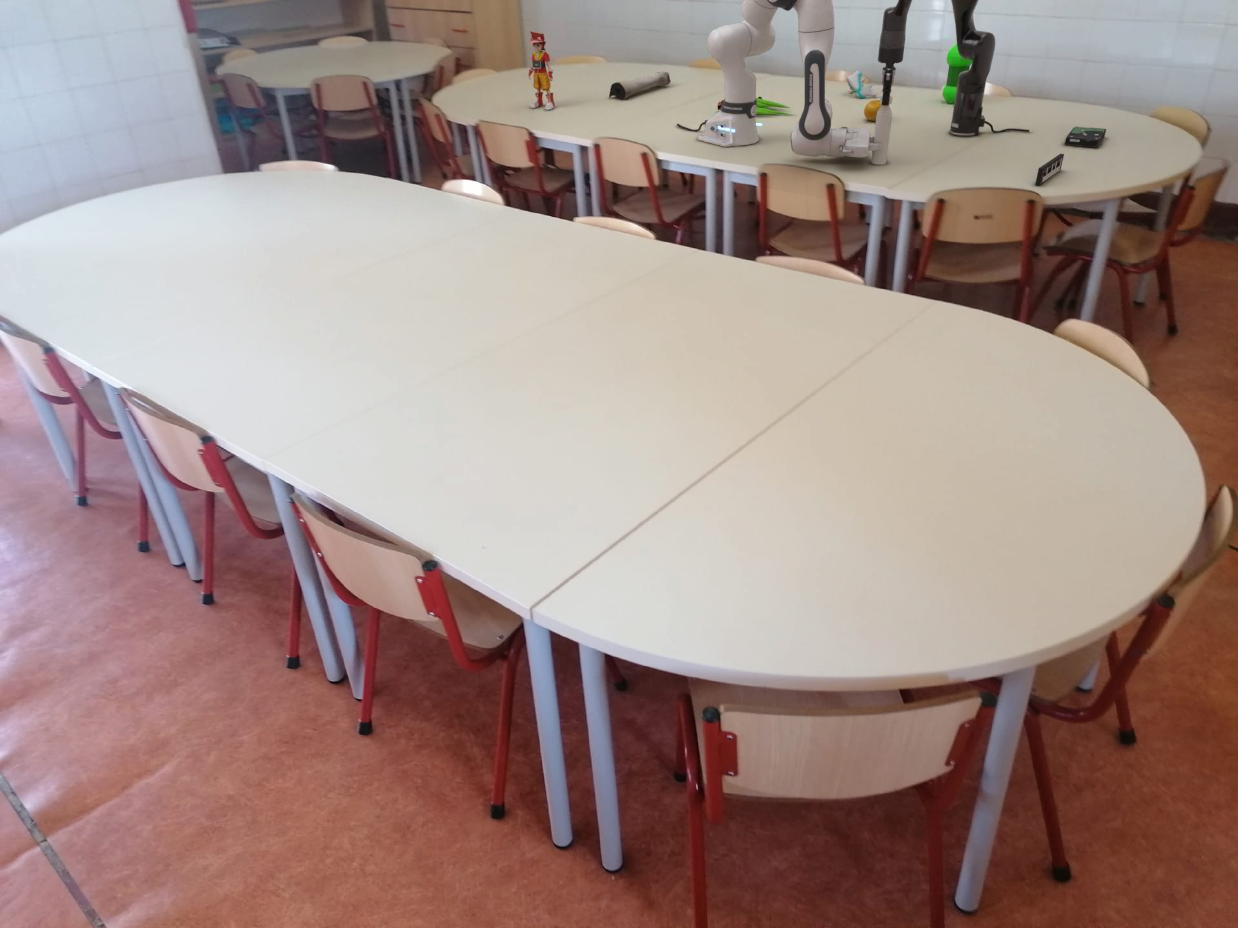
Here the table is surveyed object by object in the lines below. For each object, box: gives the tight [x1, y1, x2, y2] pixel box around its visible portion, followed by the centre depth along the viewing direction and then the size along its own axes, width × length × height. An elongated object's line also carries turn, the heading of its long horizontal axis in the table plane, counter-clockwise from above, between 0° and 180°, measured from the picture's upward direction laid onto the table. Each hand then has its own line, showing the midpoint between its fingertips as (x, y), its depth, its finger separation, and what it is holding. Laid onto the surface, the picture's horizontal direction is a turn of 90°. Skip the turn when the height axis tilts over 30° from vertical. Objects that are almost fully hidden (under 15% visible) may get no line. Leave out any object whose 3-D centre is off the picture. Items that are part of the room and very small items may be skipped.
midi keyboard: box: [1035, 153, 1065, 186], centre depth 273 cm, size 18×1×5 cm, turn 138°
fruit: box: [863, 99, 882, 122], centre depth 337 cm, size 8×8×8 cm
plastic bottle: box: [942, 43, 973, 104], centre depth 348 cm, size 10×10×25 cm
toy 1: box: [527, 31, 556, 111], centre depth 374 cm, size 12×9×30 cm
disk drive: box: [1064, 126, 1107, 148], centre depth 303 cm, size 10×3×15 cm
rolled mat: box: [608, 71, 672, 101], centre depth 395 cm, size 30×9×10 cm
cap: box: [879, 95, 893, 105], centre depth 285 cm, size 4×4×2 cm
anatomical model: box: [846, 69, 878, 99], centre depth 370 cm, size 15×10×10 cm
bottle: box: [870, 104, 893, 166], centre depth 290 cm, size 5×5×20 cm
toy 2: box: [716, 96, 794, 116], centre depth 357 cm, size 28×5×30 cm
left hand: (883, 143), depth 292 cm, fingers closed on bottle, 5 cm apart
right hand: (885, 103), depth 285 cm, fingers open, 4 cm apart
